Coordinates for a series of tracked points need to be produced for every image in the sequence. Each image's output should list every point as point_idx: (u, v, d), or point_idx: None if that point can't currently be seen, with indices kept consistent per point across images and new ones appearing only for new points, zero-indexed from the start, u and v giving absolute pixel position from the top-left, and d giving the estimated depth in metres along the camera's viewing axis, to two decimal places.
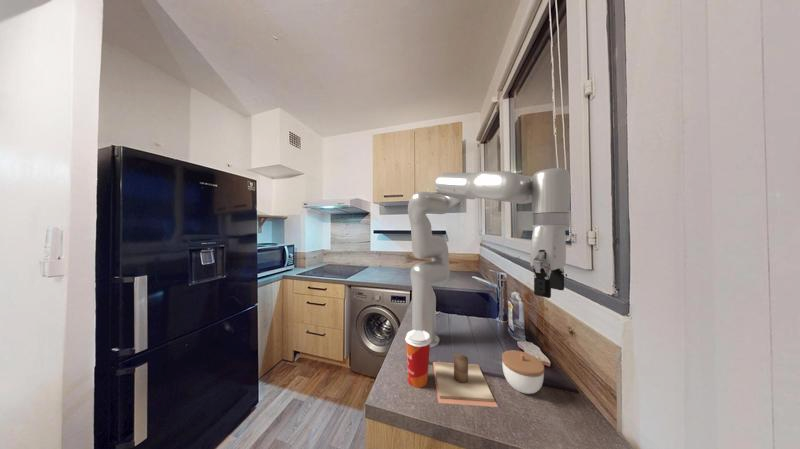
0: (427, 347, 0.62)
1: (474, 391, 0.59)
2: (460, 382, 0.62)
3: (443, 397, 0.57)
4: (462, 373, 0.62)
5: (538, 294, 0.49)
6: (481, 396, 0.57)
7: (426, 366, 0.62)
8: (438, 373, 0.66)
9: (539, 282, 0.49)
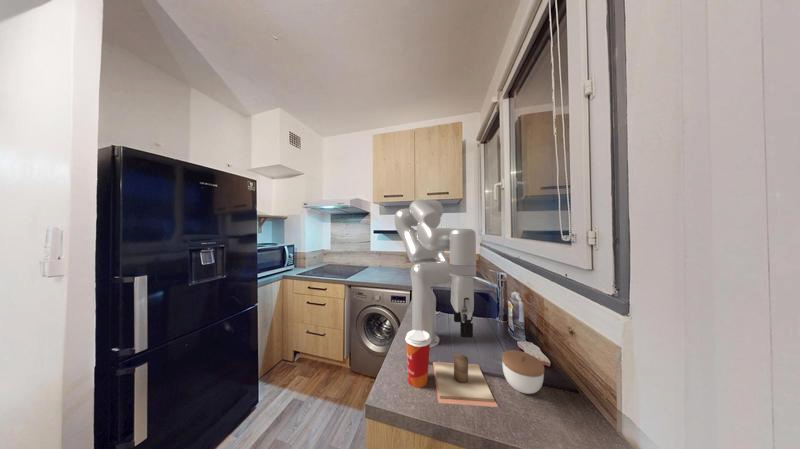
0: (427, 347, 0.62)
1: (474, 391, 0.59)
2: (460, 382, 0.62)
3: (443, 397, 0.57)
4: (462, 373, 0.62)
5: (464, 336, 0.58)
6: (481, 396, 0.57)
7: (426, 366, 0.62)
8: (438, 373, 0.66)
9: (466, 326, 0.58)
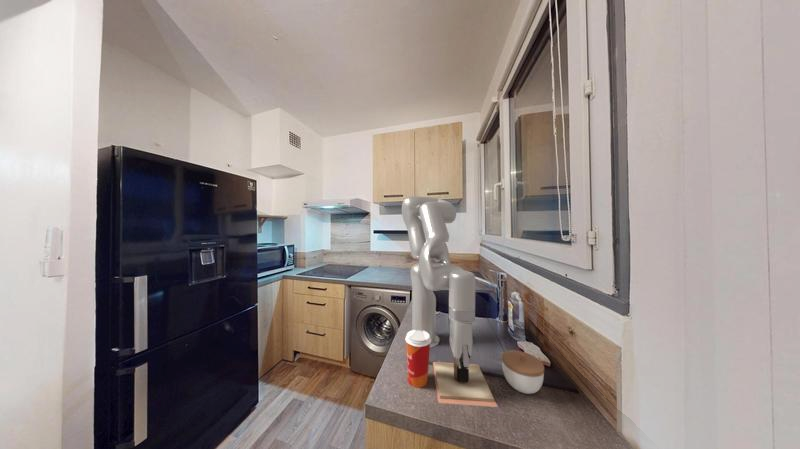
0: (427, 347, 0.62)
1: (474, 391, 0.59)
2: (460, 382, 0.62)
3: (443, 397, 0.57)
4: None
5: (460, 380, 0.61)
6: (481, 396, 0.57)
7: (426, 366, 0.62)
8: (438, 373, 0.66)
9: (462, 372, 0.61)
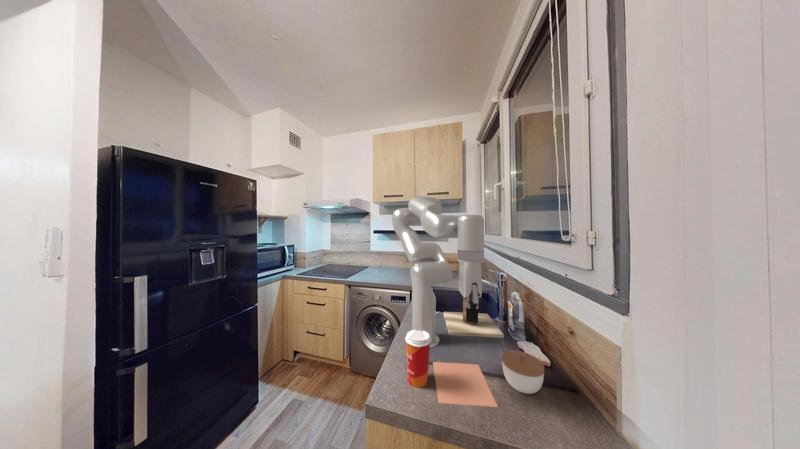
0: (427, 347, 0.62)
1: (484, 329, 0.59)
2: (470, 324, 0.62)
3: (452, 333, 0.57)
4: None
5: (469, 321, 0.61)
6: (491, 333, 0.57)
7: (426, 366, 0.62)
8: (447, 318, 0.66)
9: (471, 312, 0.60)
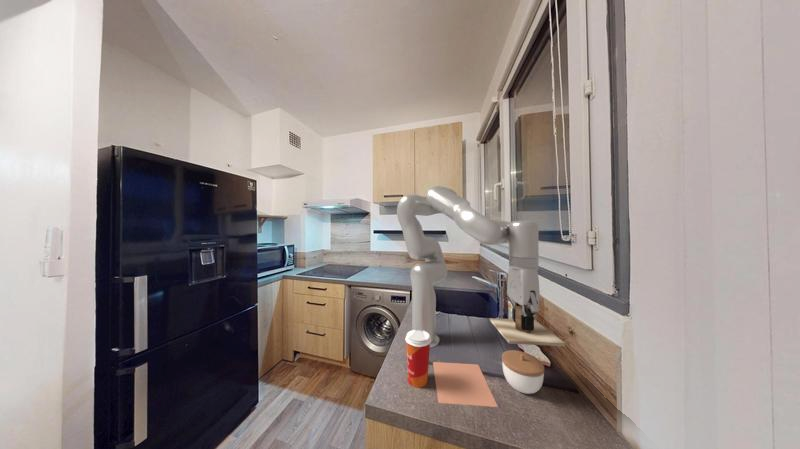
0: (427, 347, 0.62)
1: (542, 337, 0.58)
2: (524, 332, 0.61)
3: (512, 342, 0.56)
4: None
5: (525, 329, 0.60)
6: (551, 341, 0.56)
7: (426, 366, 0.62)
8: (498, 325, 0.65)
9: (528, 320, 0.59)
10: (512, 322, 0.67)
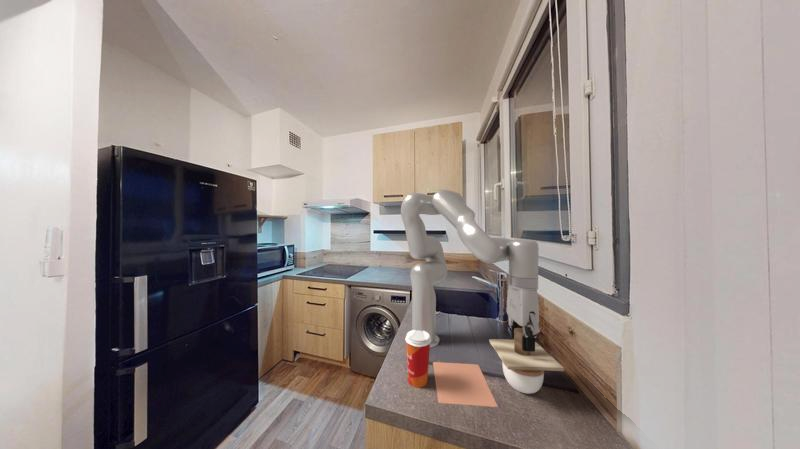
0: (427, 347, 0.62)
1: (541, 362, 0.58)
2: (523, 355, 0.61)
3: (511, 368, 0.56)
4: None
5: (526, 350, 0.59)
6: (550, 366, 0.56)
7: (426, 366, 0.62)
8: (497, 348, 0.65)
9: (529, 341, 0.59)
10: (511, 343, 0.67)
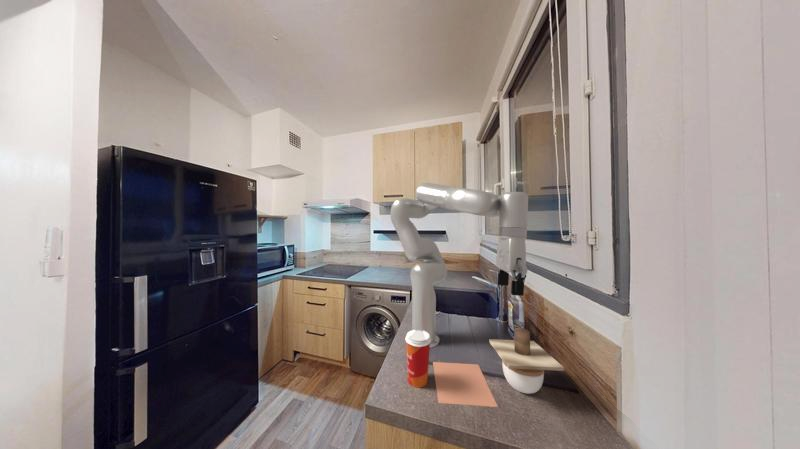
0: (427, 347, 0.62)
1: (541, 361, 0.58)
2: (524, 355, 0.61)
3: (512, 367, 0.56)
4: (526, 345, 0.61)
5: (515, 294, 0.60)
6: (550, 365, 0.56)
7: (426, 366, 0.62)
8: (497, 347, 0.65)
9: (518, 284, 0.60)
10: (511, 344, 0.67)
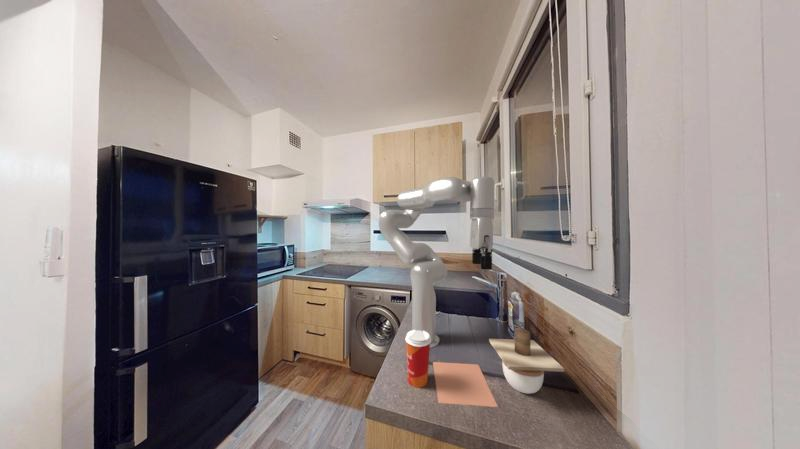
0: (427, 347, 0.62)
1: (541, 362, 0.58)
2: (524, 355, 0.61)
3: (512, 368, 0.56)
4: (526, 345, 0.61)
5: (484, 268, 0.67)
6: (551, 366, 0.56)
7: (426, 366, 0.62)
8: (497, 347, 0.65)
9: (486, 259, 0.66)
10: (511, 343, 0.67)
